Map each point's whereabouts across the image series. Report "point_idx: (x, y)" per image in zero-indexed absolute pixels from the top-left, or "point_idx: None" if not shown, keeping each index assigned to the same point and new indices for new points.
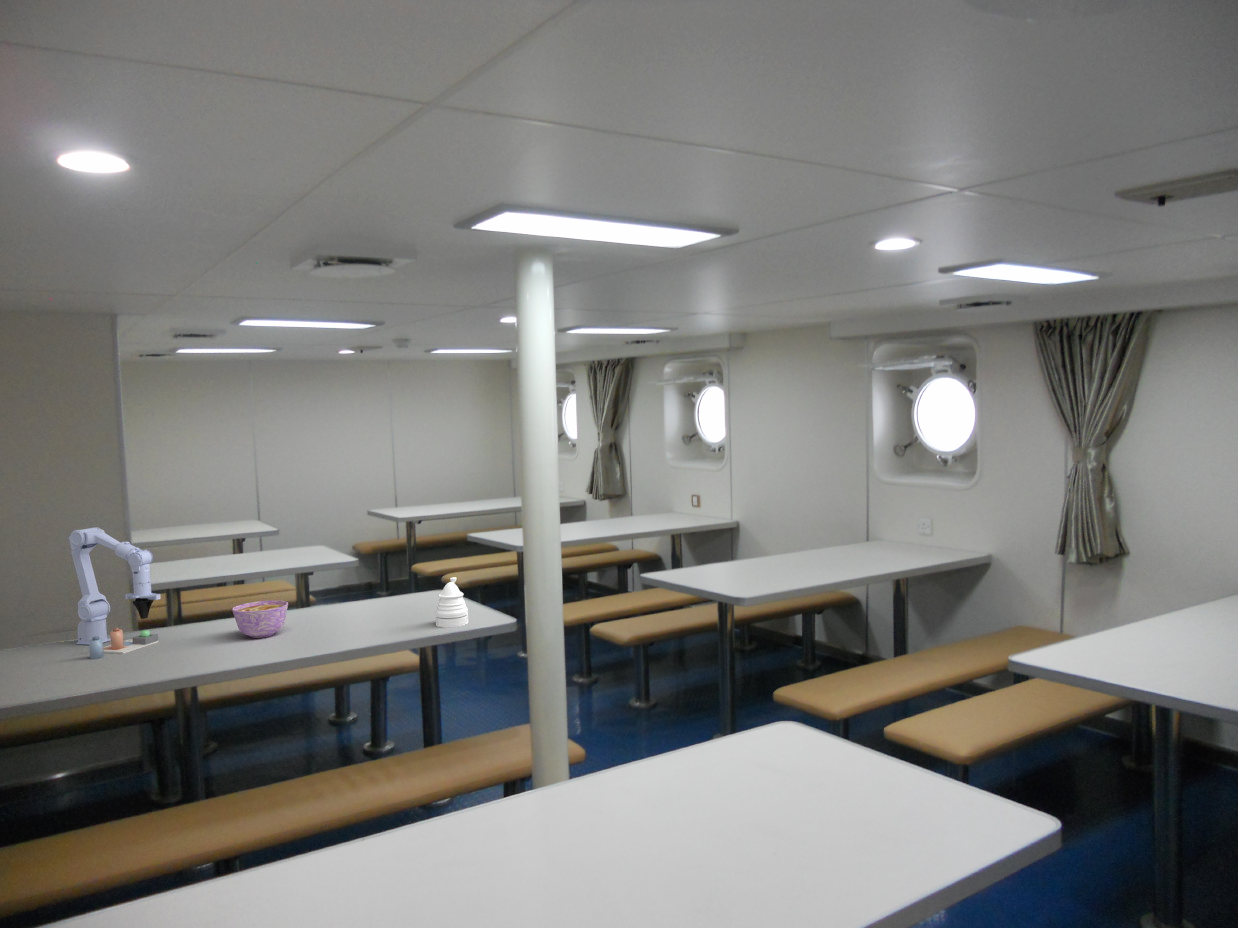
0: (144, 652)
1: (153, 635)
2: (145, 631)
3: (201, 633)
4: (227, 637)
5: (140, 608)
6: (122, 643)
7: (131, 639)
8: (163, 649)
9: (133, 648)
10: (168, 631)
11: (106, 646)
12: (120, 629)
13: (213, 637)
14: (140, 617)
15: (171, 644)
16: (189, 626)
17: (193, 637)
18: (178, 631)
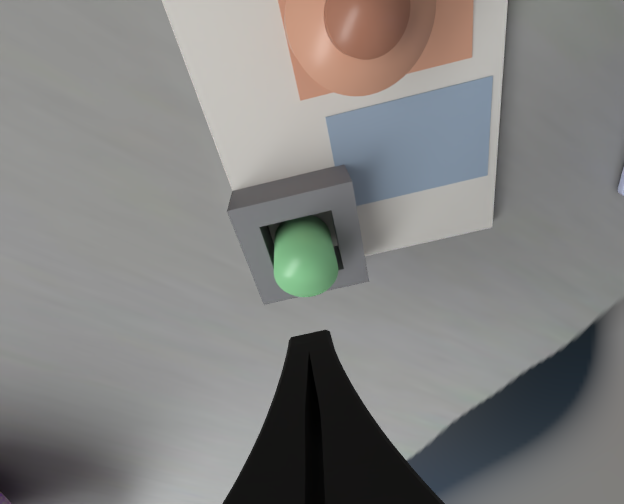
0: (25, 67)
1: (261, 277)
2: (280, 262)
3: (233, 419)
4: (32, 429)
5: (299, 444)
6: (289, 44)
7: (468, 230)
8: (12, 184)
9: (197, 81)
10: (428, 385)
11: (497, 27)
12: (370, 89)
13: (93, 410)
14: (325, 337)
15: (126, 273)
16: (408, 444)
17: (187, 380)
18: (378, 400)
